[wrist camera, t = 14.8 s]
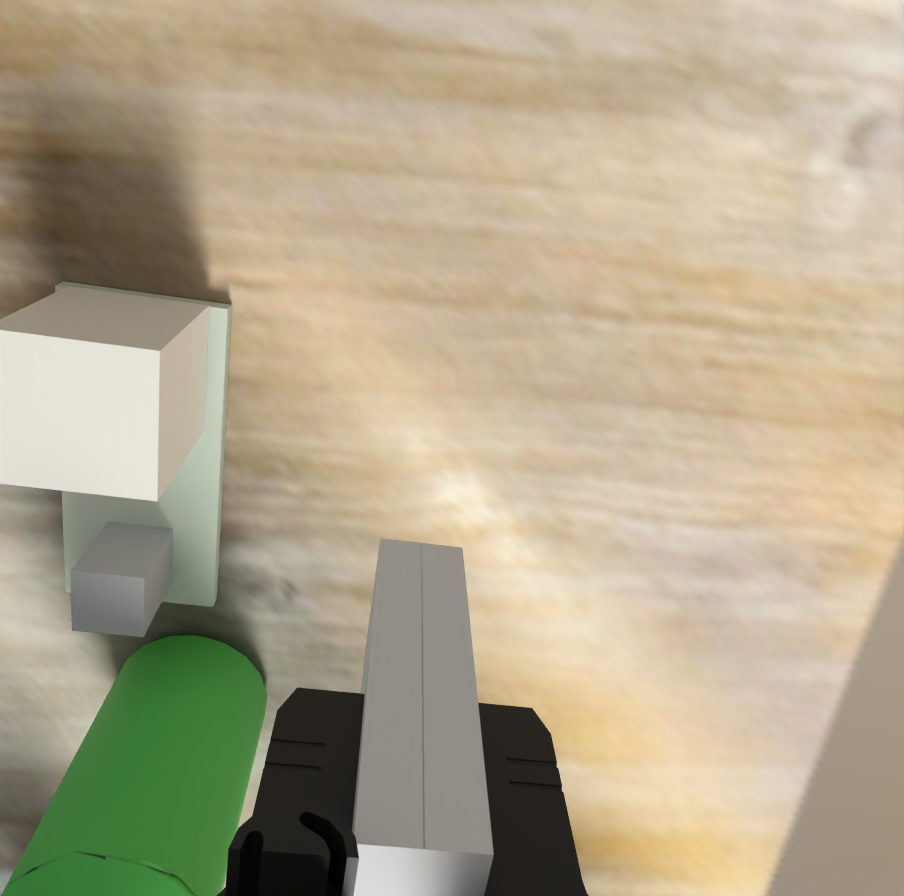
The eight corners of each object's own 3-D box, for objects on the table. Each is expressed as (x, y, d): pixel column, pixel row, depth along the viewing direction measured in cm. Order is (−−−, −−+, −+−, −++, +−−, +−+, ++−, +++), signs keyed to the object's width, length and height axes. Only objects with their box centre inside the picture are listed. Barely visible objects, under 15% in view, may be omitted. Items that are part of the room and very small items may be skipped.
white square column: (72, 414, 39) (-7, 482, 32) (68, 286, 37) (-17, 327, 30) (203, 430, 40) (157, 501, 33) (209, 305, 38) (159, 351, 30)
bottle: (89, 665, 47) (-221, 1194, 24) (212, 601, 46) (10, 1094, 23) (180, 764, 50) (-17, 1316, 27) (297, 707, 49) (196, 1235, 26)
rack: (72, 582, 45) (24, 647, 39) (63, 281, 38) (5, 308, 33) (217, 597, 46) (190, 663, 40) (231, 304, 39) (202, 335, 34)
